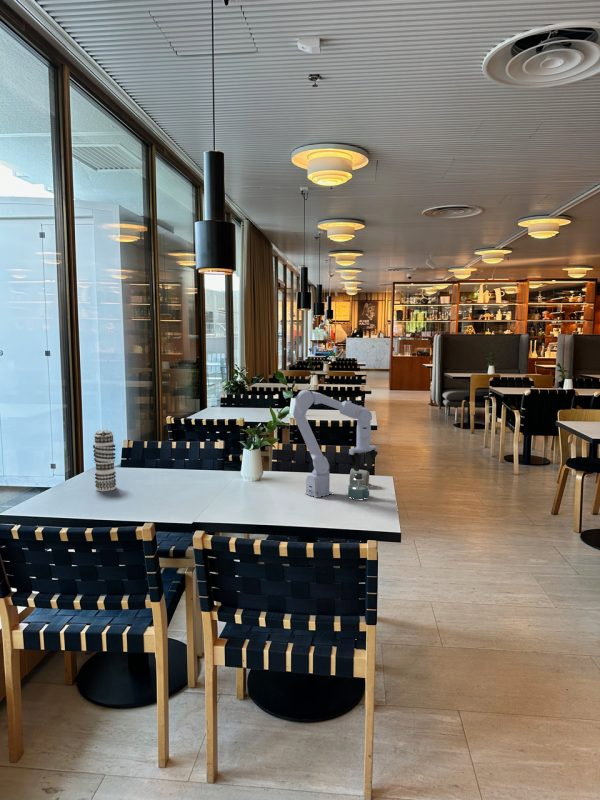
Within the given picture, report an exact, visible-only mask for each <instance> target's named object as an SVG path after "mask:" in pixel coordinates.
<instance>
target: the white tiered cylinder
mask: <svg viewBox="0 0 600 800" xmlns="http://www.w3.org/2000/svg"><path fill="white" fill-rule="evenodd" d="M114 435H115V434H114V433H113V432H112V431H110V430H107V429H105V430H98V431H96V432H95V434H93V436H94V444H93V445H92V448H93V450H92V452H93V457H94V458H93V461H94V464H95V473H94V475H95V476H94V479H95V481H94V483H95V485H94V486H95V491H98V492H108V491H109V492H110V491H114V490H115V489H117V483H116V482H117V479H116V473H117V472H116V470H115V469H116V468H115V463H116V460H115V459H116V453H115V451H116V450H117V449H116V448H115V447H116V444H115V442H114Z"/></svg>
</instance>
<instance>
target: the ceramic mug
mask: <svg viewBox="0 0 600 800" xmlns="http://www.w3.org/2000/svg"><path fill="white" fill-rule="evenodd" d="M355 473H362V478H364V480H363V481H359V485H365V486H368V487H369V484H370V472H369V471H368V470H364V469H359V471H355V470H354V468H351V469H350V472H349V485H350V484H352V485H357V481H355V480H353V478H354V477H355Z"/></svg>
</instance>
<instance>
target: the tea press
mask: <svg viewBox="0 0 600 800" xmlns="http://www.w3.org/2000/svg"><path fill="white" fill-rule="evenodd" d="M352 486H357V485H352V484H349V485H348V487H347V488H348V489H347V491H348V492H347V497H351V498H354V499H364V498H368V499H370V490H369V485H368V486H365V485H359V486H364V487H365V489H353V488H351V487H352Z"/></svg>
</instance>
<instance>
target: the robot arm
mask: <svg viewBox="0 0 600 800" xmlns="http://www.w3.org/2000/svg"><path fill="white" fill-rule="evenodd" d="M352 402H353V401H351V400H344V401H342V402H341V401H339V400H337V399H334V398H332V397H330V396H327V395H325V394H322V393H320V392H317V391H310V390H309V389H301V390H300V391H299V392H298V394H297V395H296V397H295V403H294V408H293V411H292V412H293V413H292V416H293V419H294V420H295V423H296V425H297V428H298V430H299V431H300V434H301V436H302V438H303V440H304V443H305V445H306V448H307V450H308V452H309V454H310V457H311V458H312V466H313V470H312V473H311V474H309V475H308V476H306V480H305V481H306V482H305V485H306V486H305V491H306V492H304V494H305V495H307V494H308V495H307V496H310V495H311V497H313V496H314V497H313V498H316V497H319V498H322V497H321V496H323V497H326V496H325V495H327V496H330V495H329V494H332V493H334V492H332V491H330V484H331V483H330V479H331V477H330V473H331V472H330V463H329V462H328V457H326V456H325V455H324V454H323V452H322V450H321V449H320V446H319V444H318V442H317V440H316V437H315V435H314V432H313V431H312V428H311V426H310V424H309V421H308V419H307V417H306V414H307V412H308V409H309V408H310V407H311V406H312V405H313V404H314V405H319V404H323V405H326V406H328V407H331V408H334V409H336V410H338V411H339V414H340V415H343V416H345V417H348V418H351V419H353V420H356V421H357V425H356V446H355V447H353V448H349V450H348V456H349V458H350V461H351V463H352V467H353V469H354V470H355V471H359V470H360V463H361V459H362V455H361V453H364V454H365V459H366V469H372V468H373V465H374V463H375V462H374V461H375V459H376V457H377V456H378V445H371V439H372V438H371V434H372V433H371V431H372V426H371V423H372V419H373V415H372V412H371V411H370V410H369V409H368V408H366V407H364V406H362V405H358V404H355V403H352ZM332 495H333V494H332Z"/></svg>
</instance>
